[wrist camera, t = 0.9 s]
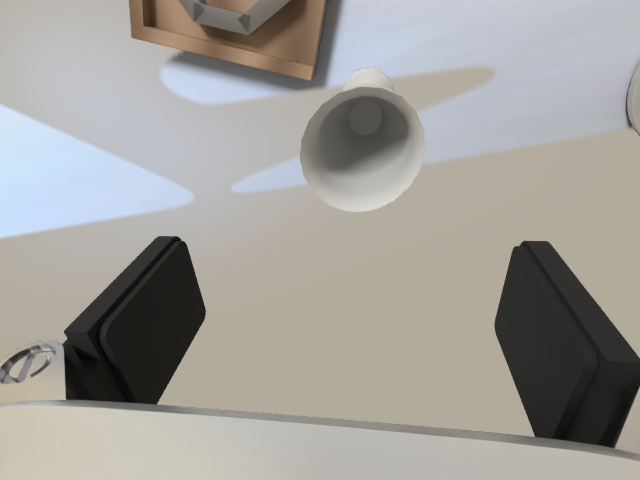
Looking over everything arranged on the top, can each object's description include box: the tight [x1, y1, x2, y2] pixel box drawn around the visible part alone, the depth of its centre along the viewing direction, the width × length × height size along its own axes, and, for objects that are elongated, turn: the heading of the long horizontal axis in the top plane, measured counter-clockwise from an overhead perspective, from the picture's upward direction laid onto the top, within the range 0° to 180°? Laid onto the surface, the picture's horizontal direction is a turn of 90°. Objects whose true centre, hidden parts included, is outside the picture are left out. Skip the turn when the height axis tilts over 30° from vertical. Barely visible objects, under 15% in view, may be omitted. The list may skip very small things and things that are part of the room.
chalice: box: [300, 68, 425, 212], centre depth 28 cm, size 7×7×18 cm
